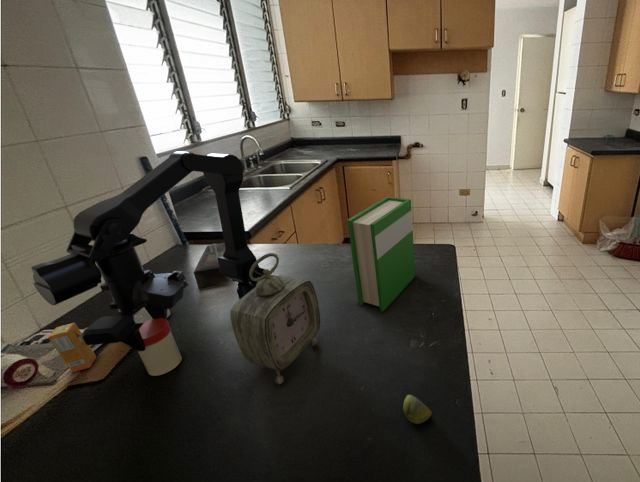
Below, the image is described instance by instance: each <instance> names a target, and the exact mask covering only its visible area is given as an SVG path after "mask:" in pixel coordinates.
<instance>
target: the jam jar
mask: <svg viewBox="0 0 640 482" xmlns="http://www.w3.org/2000/svg"><path fill="white" fill-rule="evenodd" d="M136 352H137V353H138V356H139V357H140V359H141V362H142V363H143V366H144V368H145V370H146V372H147V374H148V375H149V376H152V377H156V376H161V375H164V374H167V373H169V372H171V371H172V370H174V369H175V368H177V367H178V366H179V365H180V363H181V362H182V359H183V356H182V354H181V351H180V349H179V347H178V345H177V342H176V340H175V337H174V334H173V333H172V329H171V330H170V332H169V333H168V335H166V336H165V337H164V338H163V339H161V340H159V341H158V342H156V343H153V344H151V345H147V346H145V350H144V351H138V350H136Z"/></svg>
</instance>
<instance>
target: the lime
mask: <svg viewBox="0 0 640 482" xmlns="http://www.w3.org/2000/svg"><path fill="white" fill-rule="evenodd" d="M402 409H403V413H404V415H405V417H406V419H407V421H409V422H411V423H413V424H414V425H415V424H416V425H420V424H422V423H424V422H426V421H428V420H429V419H430V418H431V416H432V413H433V412H432V410H431V409H430V408H429V407H428V406H427V405H425V404H424V403H423V402H422V401H421V400H420V399H419V398H418V397H416V396H415V395H413V394H407V395H406V396H405V398H404V401H403V406H402Z"/></svg>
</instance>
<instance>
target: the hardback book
mask: <svg viewBox="0 0 640 482" xmlns="http://www.w3.org/2000/svg"><path fill="white" fill-rule="evenodd" d="M346 221H347V229H348V235H349V242H350V249H351V256H352V257H351V258H352V263H353V265H352V266H353V270H354V279H355V286H356V292H357V300H358V305H360V306H363V305H364V304H369V305H372V306H376V307H378V308H379V311H380V312H382V313H383V312H384V311H385V310H386V309H387V308H388V307H389V306H390V305H391V304H392V303H393V302H394V300H395V299H397V297H398V296H399V295H400V294H401V293H402V292H403V291H404V289H405V288H406V287H408V285H409V284H410V283H411V282H412V281H413V280H414V278H416V264H415V262H416V261H415V246H414V231H413V212H412V199H410V198H402V197H396V196H387V195H386V197H384V198H382V199H380V200H378V201H377V202H375V203H373V204H372V205H370V206H369V207H366V208H365V209H363V210H362V211H360V212H358V213H356V214H355V215H352V216H351V217H350V218H348V219H347V220H346Z"/></svg>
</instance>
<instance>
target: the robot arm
mask: <svg viewBox="0 0 640 482" xmlns="http://www.w3.org/2000/svg"><path fill="white" fill-rule="evenodd" d="M192 172H198V173H202V174H203V176H204V179H205V181H206V184H208V186H209V187H210V188H211V189H212V191H213V192H214V194H215V199H216V206H217V210H218V216H219V221H220V228H221V231H222V237H223V243H225V252H224V254H223V256H222V257H218V258H217V260H218V263H219V267H220V269H219V272H221V273H222V274H223V276H224V277H226V278H228V279H229V280H231V282H235V283H237V287H236V293H237V296H238V301H239V300H240V299H241V298H242V297H244V296H245V295H246V294H247V293H249V292H250V291H251V290H252V289H254V288H255V287H256V284H257V283H258V281H252V280H251V279H250V276H249V274H250V269H251V267H252V265H253V264H254V262H255V261H257V260H258V259H257V257H256V255H255V254H254V252H253V251H252V250H251V248H250V247H249V245H248V239H247V234H246V228H245V227H246V226H245V222H244V215H243V210H242V209H243V208H242V203H241V198H240V189H241V187H242V184H243V181H244V165H243V161H242V159H240V158H239V157H238V156H236V155H234V154H226V153H225V154H224V153H209V154H207V155H205V154H198V153H194V152H191V151H174V152H172V153H171V154H170V155H169V156H168V157H167V158H166V159H165V160H163V161H162V162H160V164H158V165H156V167H154V168H153V169H152V170H150V171H149V172H147V173H146V174H145V175H143V176H142V177H141V178H140V179H138V180H136V182H134V183H133V184H132V185H130V186H129V187H127V188H126V189H125V190H124V191H123V192H121V193H119V194H117V195H115V196H112V197H109V198H107V199H104V200H101V201H99V202H97V203H95V204H93V205H91V206H89V207H87V208H85V209H83V210H81V211H79V212H78V213H77V214H76V215H75V216H74V218H73V220H72V221H73V229H74V231H73V234H72V236H71V238H70V240H69V243H68V245H67V248H66V253H68V254H67V255H63V256H62V257H58V258H56V259H52V260H49V261H46V262H45V261H44V262H40V263H38V264H35V265H32V266H31V268H30V269H31V271H32V273H33V274H32V279H33V284H32V285H33V286H34V287H35V289H36V291H37V292H38V293H39V295H40V296H41V297H42V298H43V300H45V301H46V302H47V303H48V304H50V305H51V306H57V305H59V304H61V303H63V302H65V301H68V300H70V299H72V298H74V297H76V296H79V295H81V294H83V293H85V292H88V291H90V290H92V289H94V288H97V287H98V285H99V284H101V283H102V278H103V281H104V283H102V284H101V285H100V286H99V288H100V290H101V291H102V292H105V291H106V292H107V291H109V294H110V295H111V297H113V298H112V300H113V299H114V300H113V301H112V302H111V303H110V304H108V306H109V308H110V310H118V309H119V310H120V312H119V310H118V313H117V314H115V315H111V316H101V317H99V318H97V319H96V320H95V321H94V322H93V323H91V324H90V325H89V326H87V328H84V330H83V332H81V333H82V334H81V335H82V338H83V340H84V342H85V343H86V345H89V346H95V345H106V344H118V343H120V342H121V343H123V344H124V345H126V346H128V347H130V348H132V349H134V350H136V351H137V350H138V351H144V350H145V344H144V341H143V339H142V336H141V333H140V331H139V329H140V328H141V326H142V325H143V323H136V322H135V320H134V316H135V315H136V314H137V313H138V312H139V311H140V310H141V309H142V308H145V309H146V311H147V312H148V313H149V315H150V316H151V317H152V319H157V318H164V319H167V320H168V318H167V309H169V310H170V309H174V307H175V306H176V304H178V302H179V301H180V300H182V299H183V297H184V291H185V290H184V289H186V287H188V285H189V284H188V283H187V282H186V281H187V279H186V276H185V275H184V273H183V271H182V270H181V271H180V270H174V271H172V272H166V273H165V272H164V273H154V272H153V271H152V270H151V269H145V268H144V266H143V264H142V261H141V259H140V257H139V254H138V252H137V250H136V247H138V246H141V245H143V244H145V243H147V242H148V240H147V239H146V238H144V237H140V236H137V235H136V234H134V233H133V231H134V230H135V229H136V228H137V227H138V226H139V224H140V222H141V220H142V216H143V215H144V213H145V212H146V211H147V210H148V209H149V208H150V207H151V206H152V205H154V204H155V203H156V202H157V201H158V200H160V199H161V198H162V197H163V196H165V195H166V194H167V193H168V192H169V191H170V190H172V189H174V187H175V186H176V185H178V184H179V183H180V182H182V181H183V180H184V179H185V178H187V176H189V175H190V174H191V173H192ZM91 242H93V244H90V243H91ZM265 269H266V268H263V267H260V266H259V264H258V265H257V266H256V267H255V269H254V271H253V274H252V277H253V278H259V277H261V276H263V275H264V274H263V271H264V270H265ZM138 351H137V352H138Z"/></svg>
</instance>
